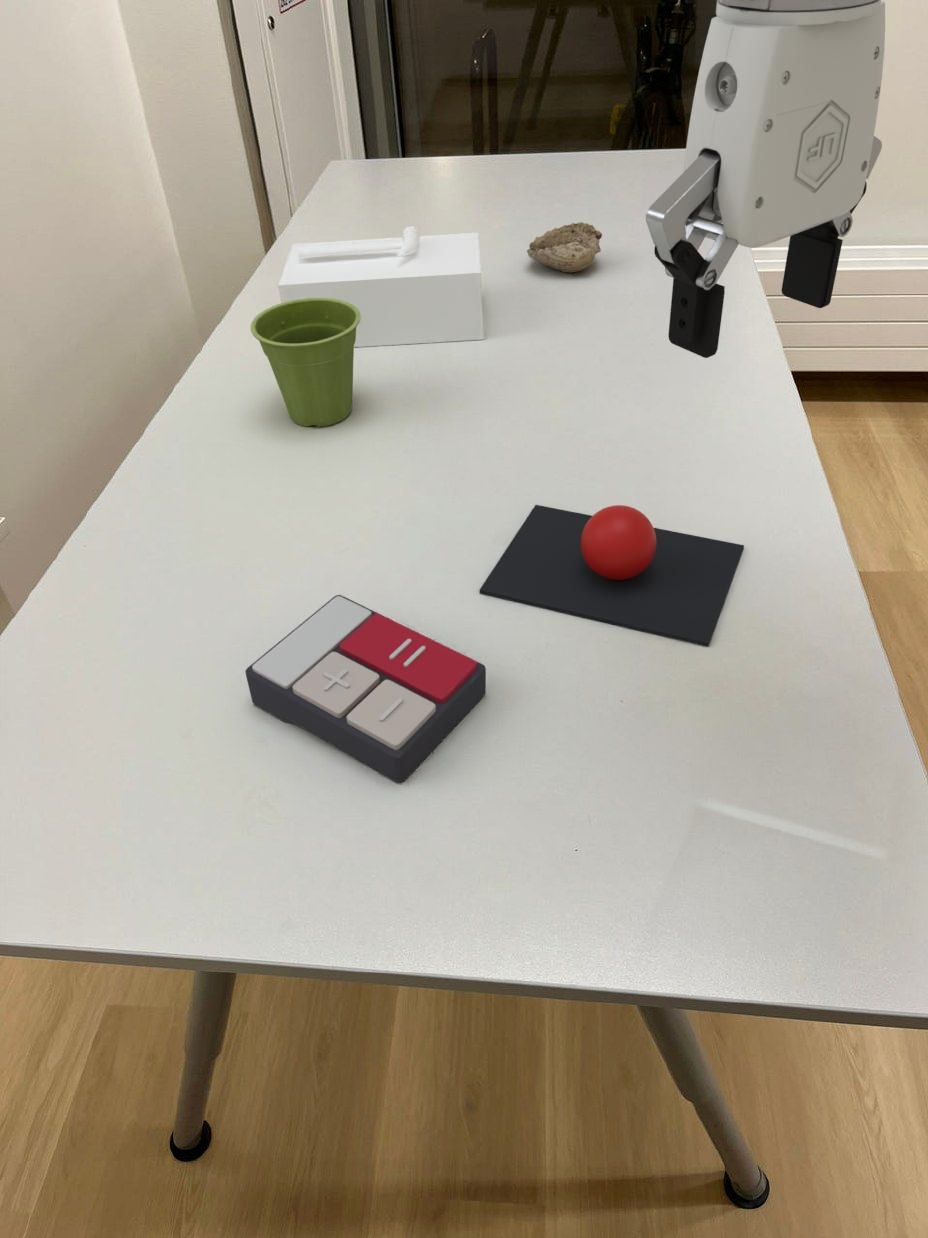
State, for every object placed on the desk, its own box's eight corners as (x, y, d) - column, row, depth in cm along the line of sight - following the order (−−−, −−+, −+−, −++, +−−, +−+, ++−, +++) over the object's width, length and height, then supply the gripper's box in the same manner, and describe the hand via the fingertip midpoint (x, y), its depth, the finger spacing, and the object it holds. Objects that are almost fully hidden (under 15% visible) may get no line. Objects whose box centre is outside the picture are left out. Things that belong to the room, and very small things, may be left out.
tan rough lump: (540, 274, 145) (510, 267, 137) (545, 224, 143) (515, 214, 135) (609, 277, 140) (582, 270, 132) (614, 225, 138) (588, 215, 130)
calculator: (397, 752, 65) (240, 663, 71) (401, 791, 68) (249, 702, 74) (488, 658, 71) (336, 585, 78) (488, 697, 74) (342, 624, 81)
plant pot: (249, 427, 108) (227, 333, 101) (308, 382, 116) (292, 291, 108) (335, 448, 103) (319, 350, 96) (391, 399, 111) (381, 306, 104)
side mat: (743, 548, 86) (744, 544, 86) (708, 646, 76) (708, 643, 76) (535, 507, 93) (535, 504, 92) (479, 593, 83) (479, 589, 83)
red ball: (666, 560, 84) (662, 494, 81) (647, 596, 79) (642, 528, 76) (597, 555, 87) (591, 491, 84) (574, 590, 82) (566, 524, 79)
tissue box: (483, 339, 122) (479, 253, 115) (290, 350, 123) (274, 266, 116) (480, 295, 133) (477, 214, 126) (303, 306, 134) (289, 226, 127)
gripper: (736, 11, 39) (694, 393, 50) (981, -44, 46) (896, 301, 57) (610, -5, 44) (597, 348, 55) (850, -52, 51) (795, 268, 62)
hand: (750, 323), depth 56 cm, fingers open, 9 cm apart
